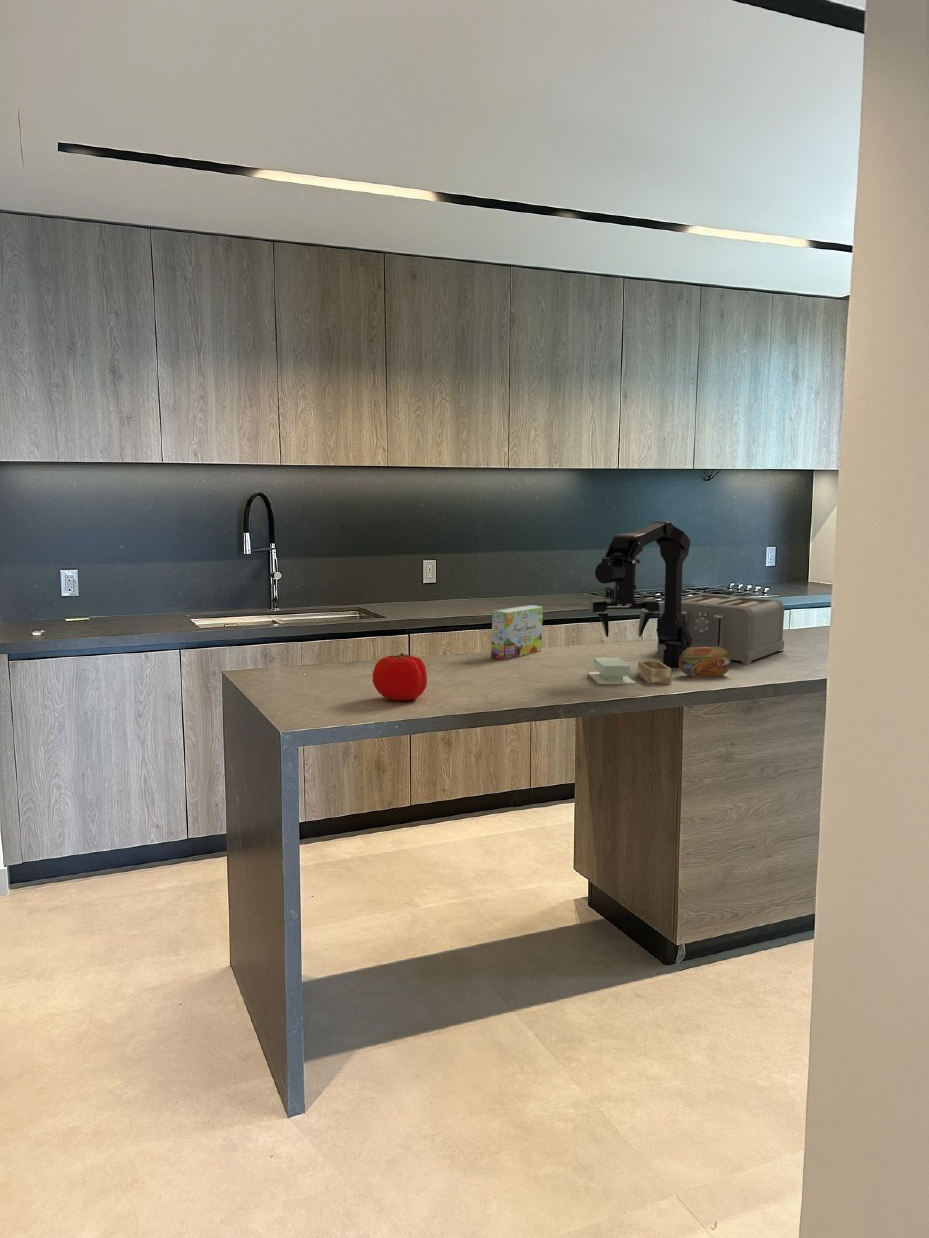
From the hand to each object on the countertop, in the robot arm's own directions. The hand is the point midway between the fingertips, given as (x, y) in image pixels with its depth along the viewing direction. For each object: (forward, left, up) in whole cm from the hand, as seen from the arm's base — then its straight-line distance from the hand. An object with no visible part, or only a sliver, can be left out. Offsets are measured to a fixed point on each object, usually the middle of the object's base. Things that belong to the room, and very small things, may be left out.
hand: (623, 636), depth 256 cm
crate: (-9, +2, -12) cm, 15 cm away
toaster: (-43, -41, -12) cm, 61 cm away
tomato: (+62, +25, -12) cm, 68 cm away
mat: (+3, +1, -12) cm, 12 cm away
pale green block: (+3, +1, -11) cm, 12 cm away
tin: (-25, -3, -12) cm, 28 cm away
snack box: (+24, -36, -12) cm, 45 cm away
